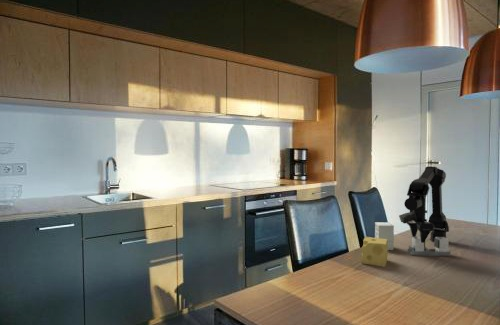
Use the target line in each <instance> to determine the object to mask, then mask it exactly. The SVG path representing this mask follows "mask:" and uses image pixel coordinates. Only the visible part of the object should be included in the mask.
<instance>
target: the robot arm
mask: <svg viewBox="0 0 500 325" xmlns="http://www.w3.org/2000/svg"><path fill="white" fill-rule="evenodd" d="M446 177H447V174H446V171H444V170H443V169H440V168H438V167H437V166H431V165H430V166H425V168H424V171H422V173H421V175H420V176H419V178H416V179H414V180H413V181H411V183H410V184H409V186H408V190H407V193H406V196H408V198H406V199H405V200H404V204H403V205H404V207H405V208H406V209H407V210H408V212H405V213H402V214H399V215H398V217H399V221H400V222H401V223H402V224H407V225H408V226H409V229H410V232H411V237H412V236H413V237H417V233H418V231H419V237H420V238H421V243H424V242H425V243H426V240H427V239H428V237H429V235H430V238H429V240H430V241H432V242H433V243H434V238H435V237H445V238H447V233H449V232H450V226H449V222H448V221H447V216H446V215H445V213H444V212H443V198H442V196H443V194H442V193H443V192H442V191H443V190H442V188H443V184H444V183H445V181H446ZM429 185H430V186H429ZM430 187H431V206H432V208H431V209H432V213H431V214H430V215H429V217H428V219H427V218H426V214H428V210H426V203H427V202H426V201H427V200H426V199H427V198H426V197H427V196H428V194H429V192H430Z"/></svg>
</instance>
